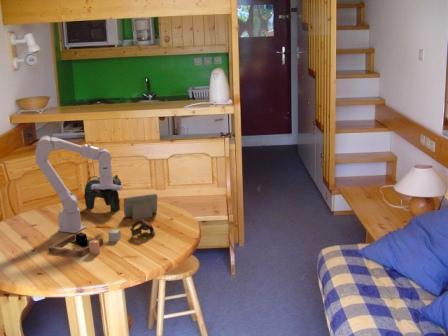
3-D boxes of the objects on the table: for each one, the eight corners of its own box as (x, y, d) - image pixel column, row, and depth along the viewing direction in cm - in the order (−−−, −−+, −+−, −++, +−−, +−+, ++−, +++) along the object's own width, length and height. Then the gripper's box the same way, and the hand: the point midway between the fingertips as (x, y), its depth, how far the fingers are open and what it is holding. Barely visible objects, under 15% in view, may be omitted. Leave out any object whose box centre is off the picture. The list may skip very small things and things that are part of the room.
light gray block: (109, 241, 237) (108, 232, 235) (112, 238, 240) (111, 229, 239) (118, 241, 236) (117, 233, 235) (121, 238, 240) (120, 229, 239)
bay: (49, 251, 228) (48, 247, 227) (72, 238, 241) (72, 234, 240) (81, 257, 221) (80, 252, 221) (103, 243, 235) (102, 238, 234)
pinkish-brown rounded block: (87, 254, 224) (86, 243, 222) (93, 250, 227) (92, 239, 226) (96, 256, 222) (94, 244, 221) (102, 252, 226) (100, 240, 224)
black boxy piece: (66, 243, 237) (64, 233, 236) (80, 238, 243) (79, 228, 241) (84, 250, 229) (83, 239, 228) (98, 244, 235) (97, 234, 234)
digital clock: (158, 211, 271) (156, 191, 268) (158, 218, 263) (157, 196, 260) (124, 214, 269) (122, 193, 267) (123, 220, 261) (122, 199, 258)
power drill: (124, 209, 277) (120, 170, 272) (117, 213, 271) (113, 173, 266) (90, 205, 284) (86, 167, 279) (82, 209, 278) (78, 171, 273)
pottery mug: (155, 240, 238) (144, 226, 234) (137, 248, 240) (126, 235, 236) (158, 223, 248) (148, 210, 244) (140, 232, 250) (130, 218, 247)
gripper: (86, 177, 247) (89, 206, 251) (116, 179, 243) (119, 208, 247) (94, 173, 254) (97, 201, 257) (123, 174, 250) (126, 203, 253)
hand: (108, 204), depth 253 cm, fingers closed
